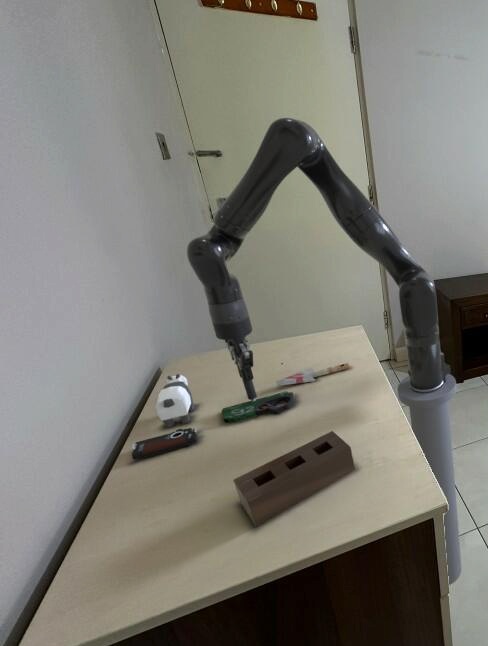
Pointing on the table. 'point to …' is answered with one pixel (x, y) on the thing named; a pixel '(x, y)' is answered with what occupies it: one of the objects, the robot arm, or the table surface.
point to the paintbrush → (310, 375)
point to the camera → (164, 443)
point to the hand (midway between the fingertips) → (247, 378)
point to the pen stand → (293, 477)
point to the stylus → (249, 389)
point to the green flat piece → (258, 407)
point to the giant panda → (175, 401)
